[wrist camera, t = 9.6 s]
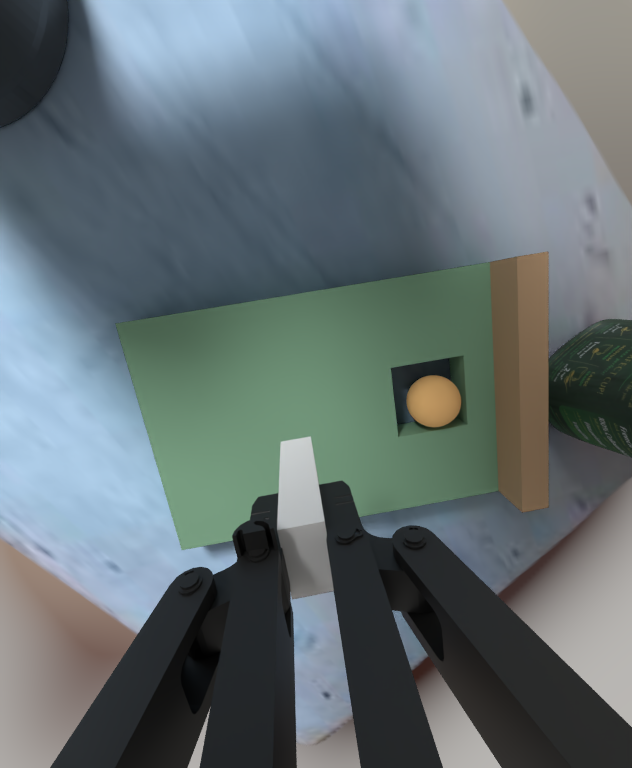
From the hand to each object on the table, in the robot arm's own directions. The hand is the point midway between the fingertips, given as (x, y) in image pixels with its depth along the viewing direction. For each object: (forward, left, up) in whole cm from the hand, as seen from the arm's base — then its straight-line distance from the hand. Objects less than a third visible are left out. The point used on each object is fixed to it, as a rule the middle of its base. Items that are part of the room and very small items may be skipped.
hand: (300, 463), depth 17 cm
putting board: (+3, +2, -11) cm, 12 cm away
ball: (+8, +6, -9) cm, 14 cm away
